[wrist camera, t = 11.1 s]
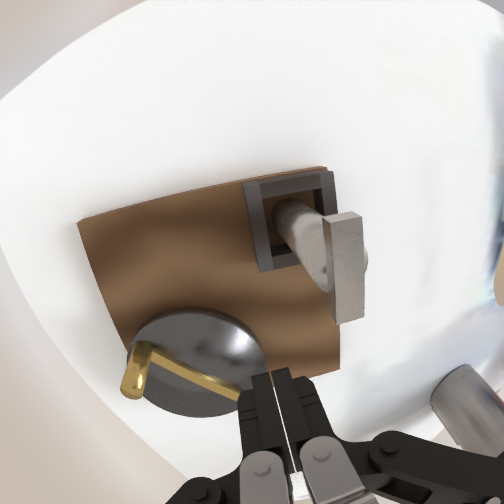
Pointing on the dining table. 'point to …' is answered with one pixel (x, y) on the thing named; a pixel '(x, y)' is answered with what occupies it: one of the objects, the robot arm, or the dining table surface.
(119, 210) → the board
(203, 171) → the dining table surface
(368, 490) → the robot arm
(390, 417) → the dining table surface
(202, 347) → the handwheel
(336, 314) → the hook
